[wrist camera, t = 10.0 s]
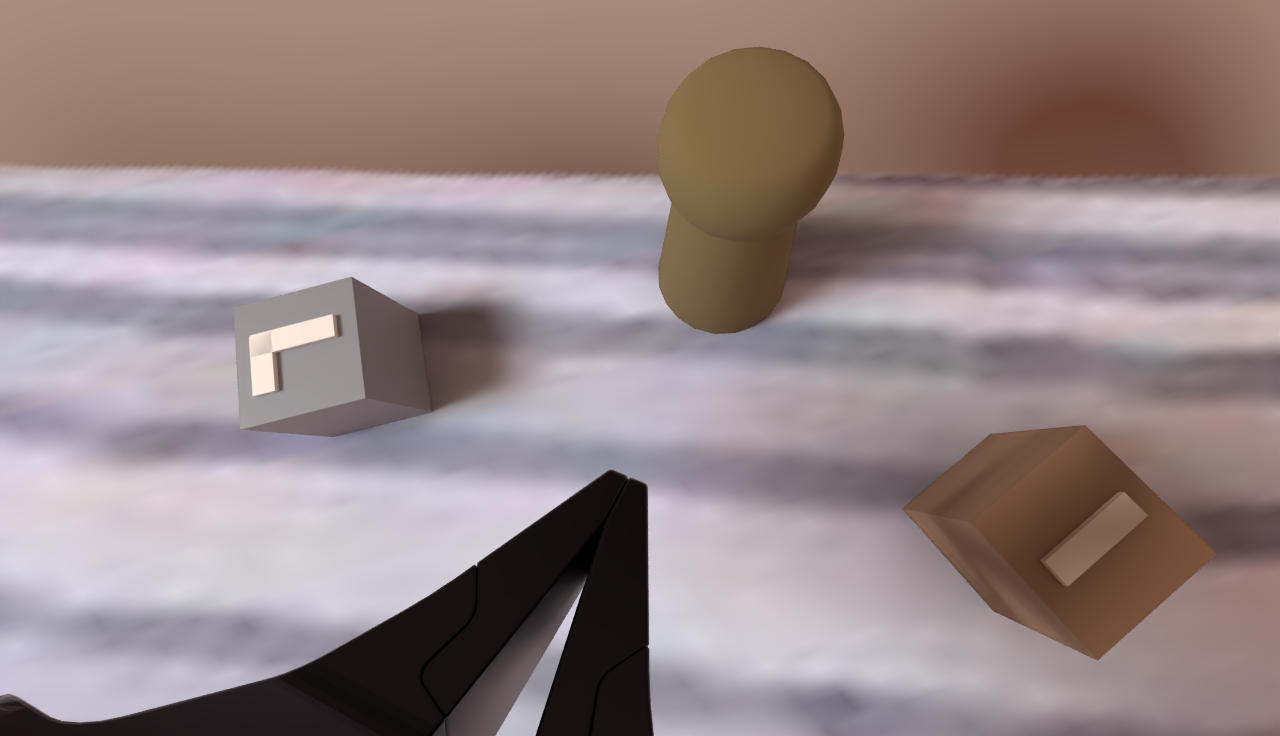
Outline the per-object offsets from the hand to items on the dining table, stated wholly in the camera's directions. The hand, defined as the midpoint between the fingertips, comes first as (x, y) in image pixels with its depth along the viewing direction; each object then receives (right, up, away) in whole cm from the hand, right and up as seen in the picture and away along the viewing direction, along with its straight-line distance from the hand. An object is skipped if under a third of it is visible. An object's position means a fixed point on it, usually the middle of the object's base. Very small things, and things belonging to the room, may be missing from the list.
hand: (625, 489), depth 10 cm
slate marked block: (-13, +2, +14) cm, 19 cm away
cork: (+4, +7, +13) cm, 16 cm away
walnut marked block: (+15, -4, +10) cm, 18 cm away
